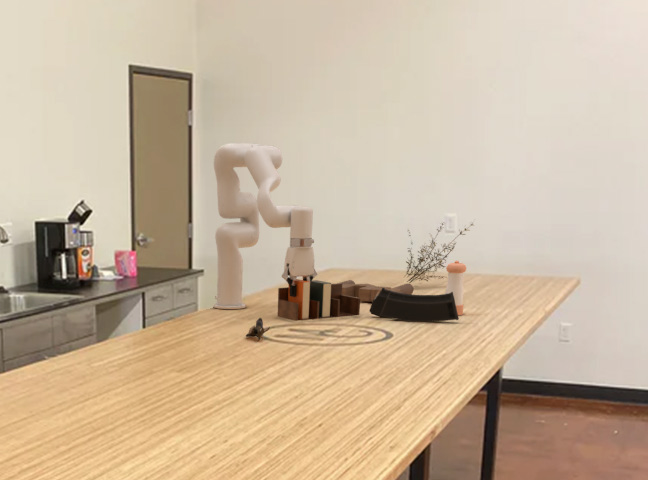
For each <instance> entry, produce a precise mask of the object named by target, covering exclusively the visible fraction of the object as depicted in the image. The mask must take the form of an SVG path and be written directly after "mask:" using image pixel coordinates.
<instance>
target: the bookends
mask: <svg viewBox="0 0 648 480" xmlns="http://www.w3.org/2000/svg"><path fill="white" fill-rule="evenodd" d="M340 283H341V284H342V295H346V296H351V297H356V298H360V302H367V303H369V302H370V303H372V302H373V300H374V299H375V297H376V295H377V293H378V291H379V290H380V292H381V290H382V288H385V289H386V290H391V291H394V292H398V293H404V294H412V295H413V293H414V286H413V285H412V284H411V283H404V284H400V285H398V286H394V287H391V286H379V285H374V284H370V283H356V282H355V281H354V280H352V279H348V280H344V281H340V282H337V283H336V284H340Z"/></svg>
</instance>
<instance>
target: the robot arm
mask: <svg viewBox="0 0 648 480" xmlns="http://www.w3.org/2000/svg"><path fill="white" fill-rule="evenodd" d="M282 164H283V154H282V152H281V150H280V149H279V148H278V147H276V146H275V145H270V144H263V143H257V142H256V143H255V142H231V143H230V142H229V143H225V144H222V145H221V146H219V147H218V148H217V149H216V151H215V153H214V156H213V169H214V174H215V179H216V195H217V212H218V214H219V216H220V217H221V218H222V219H226V220H227V219H228V220H235V219H239V220H240V221H234V222H225V223H222V224H220V225H219V226H217V228H216V230H215V236H214V238H215V244H216V252H217V282H216V283H217V284H216V285H217V286H216V287H217V291H216V292H217V293H216V295H215V296H214V299H215V300H216V302H215V303H213V304H212V308H214V309H220V310H238V309H239V310H240V309H245V308H246V307H247V304H246V303H244V302H243V272H244V271H243V270H244V269H243V267H244V266H243V265H244V264H243V263H244V262H243V256H242V254H241V252H240V249H243V248H245V249H246V248H252V247H254V246H256V244H258V242H259V239H260V217H261V218H262V221H264V223H265V224H266V225H267V226H268V227H270V228H273V229H278V228H290V229H289V230H290V231H289V246H287V248H286V252H285V258H284V267H283V272H282V274H281V278H282V279H283V280H285V282H286V283H287V285H288V287H289V294H290V296H292V297H296V285H295V282H296V279H298V278H299V277H302V280H304V281H310V282H311V281H313V280H314V279H315V278H316V277H317V276H318V273H317V271H316V269H315V253H314V248H313V246H312V245H313V244H314V243H315V239H314V238H313V219H314V218H313V217H314V216H313V215H314V211H313V210H314V209H313V208H312V207H310V206H299V205H296V204H284V205H283V204H282V205H276V204H275V203H274V201H273V199H272V196H271V193H272V192H274V191H275V190H276V189H277V188H278V187H279V186H280V184H281V180H282V179H281V176H280V175H279V172H278V171H277V170H278V169H279V168H280V167H281V166H282ZM235 168H247V170H248V171H249V173H250V175H251V178H252V179H253V180H254V183H255V185H256V186H257V189H258V192H257V195H256V196H255V195H254V194H253V193H252V192H249V191H241V188H240V187H241V183H240V177H239V175H238V174H237V171H235ZM297 277H298V278H297ZM289 285H290V286H289Z"/></svg>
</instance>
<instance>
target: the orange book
mask: <svg viewBox="0 0 648 480" xmlns="http://www.w3.org/2000/svg"><path fill="white" fill-rule="evenodd" d="M295 285H296V297H292V296H290V294H289V290H288V301H290V302H295V303H298V319H309V294H310V281H304V280H303V279H299V278H296V282H295ZM289 286H290V285H289V284H288V287H289Z"/></svg>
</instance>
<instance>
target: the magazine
mask: <svg viewBox="0 0 648 480" xmlns="http://www.w3.org/2000/svg"><path fill="white" fill-rule="evenodd" d="M369 313H370V314H371V315H374V316H376V317H379V318H380V319H381V318H383V319H392V320H394V321H401V322H402V321H403V322H412V323H413V322H414V323H431V322H433V323H434V322H444V321H445V322H446V321H455V320H456V321H459V319H460V318H459V315H458V313H457V309H456V304H455V299H454V296H453V292H451V293H448V294H445V293H443V294H413V293H412V294H404V293H398V292H394V291H391V290H386V289H385V288H382V290H381V292H380V290H379V291H378V293H377V295H376V297H375V299H374V300H373V302H371V305H370V307H369Z"/></svg>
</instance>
